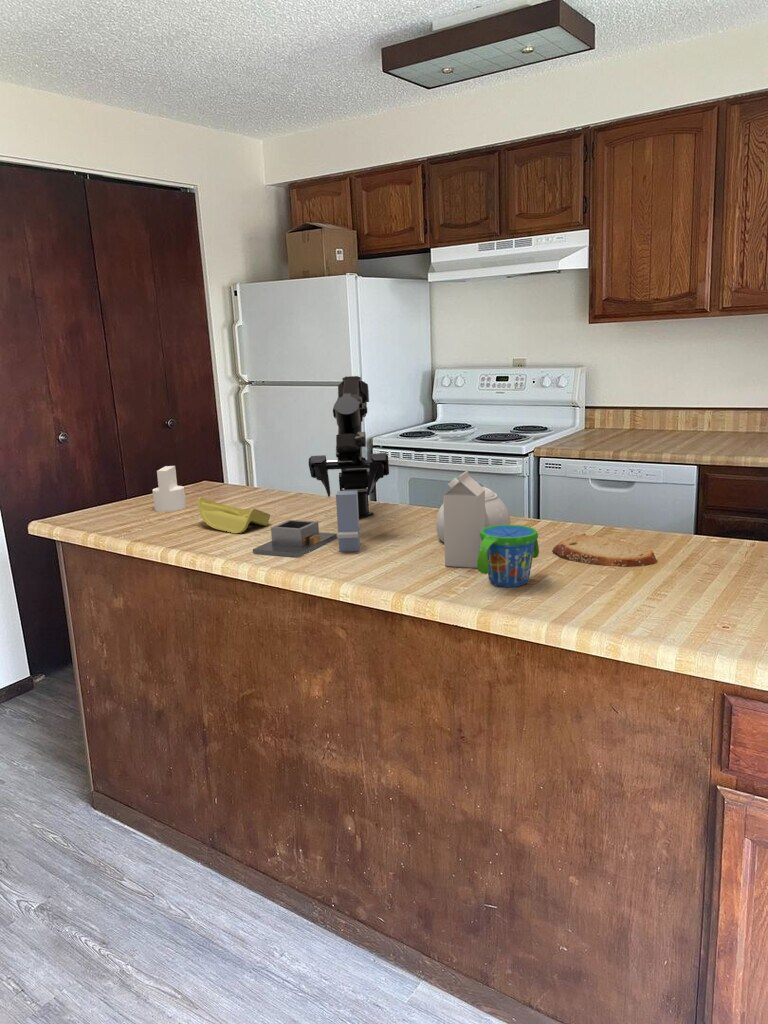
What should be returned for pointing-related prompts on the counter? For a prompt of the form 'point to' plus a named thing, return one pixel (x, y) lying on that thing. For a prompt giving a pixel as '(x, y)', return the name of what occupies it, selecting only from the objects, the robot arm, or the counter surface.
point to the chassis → (294, 539)
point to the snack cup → (507, 554)
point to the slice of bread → (604, 552)
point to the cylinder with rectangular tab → (168, 491)
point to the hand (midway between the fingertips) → (348, 494)
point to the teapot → (493, 513)
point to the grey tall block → (348, 520)
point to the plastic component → (229, 516)
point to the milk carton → (463, 521)
